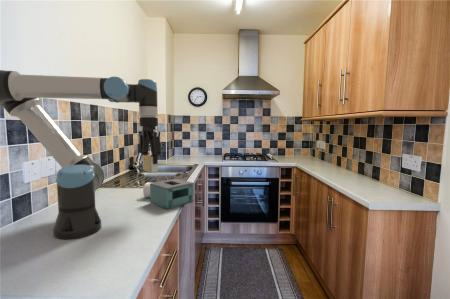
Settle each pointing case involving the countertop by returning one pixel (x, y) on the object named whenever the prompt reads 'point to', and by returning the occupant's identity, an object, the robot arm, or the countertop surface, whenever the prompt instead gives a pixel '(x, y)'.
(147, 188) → the mug
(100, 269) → the countertop surface
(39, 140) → the robot arm
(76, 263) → the countertop surface
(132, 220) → the countertop surface
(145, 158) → the gold block
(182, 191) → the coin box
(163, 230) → the countertop surface
